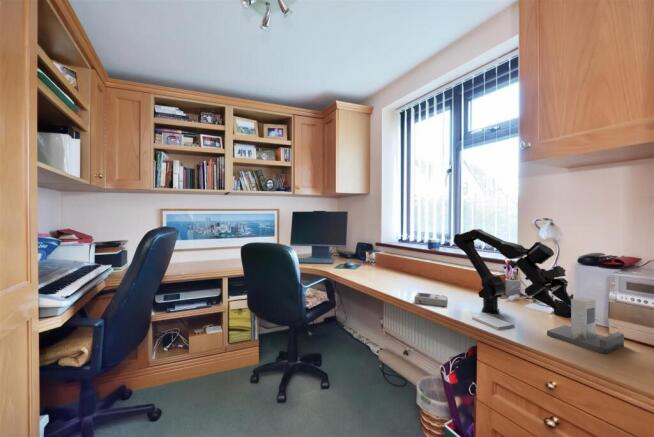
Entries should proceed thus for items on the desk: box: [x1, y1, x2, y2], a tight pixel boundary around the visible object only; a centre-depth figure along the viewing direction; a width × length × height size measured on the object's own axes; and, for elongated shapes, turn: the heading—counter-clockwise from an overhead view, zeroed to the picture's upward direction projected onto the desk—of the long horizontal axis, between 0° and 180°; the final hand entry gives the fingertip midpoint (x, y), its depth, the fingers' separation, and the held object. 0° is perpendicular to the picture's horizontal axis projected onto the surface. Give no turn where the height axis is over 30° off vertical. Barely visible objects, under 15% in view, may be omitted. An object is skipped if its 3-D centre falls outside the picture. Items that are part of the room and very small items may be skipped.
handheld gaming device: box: [414, 292, 449, 307], centre depth 141 cm, size 9×15×4 cm, turn 63°
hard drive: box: [471, 314, 515, 331], centre depth 113 cm, size 2×8×12 cm
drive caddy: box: [570, 296, 597, 340], centre depth 96 cm, size 4×6×12 cm, turn 115°
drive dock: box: [546, 324, 625, 355], centre depth 96 cm, size 16×12×4 cm
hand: (565, 307), depth 101 cm, fingers open, 9 cm apart
